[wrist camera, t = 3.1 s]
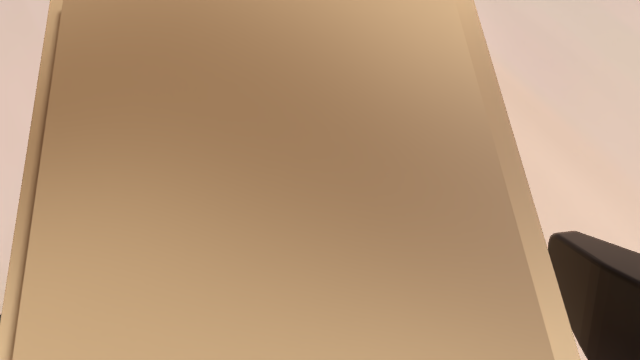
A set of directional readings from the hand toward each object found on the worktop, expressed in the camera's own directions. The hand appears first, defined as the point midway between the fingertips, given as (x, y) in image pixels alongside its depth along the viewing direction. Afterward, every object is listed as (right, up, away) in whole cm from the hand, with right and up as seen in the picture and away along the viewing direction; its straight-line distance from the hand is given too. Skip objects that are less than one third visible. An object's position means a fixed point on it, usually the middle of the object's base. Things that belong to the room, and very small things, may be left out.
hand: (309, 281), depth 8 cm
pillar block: (0, -3, +8) cm, 8 cm away
